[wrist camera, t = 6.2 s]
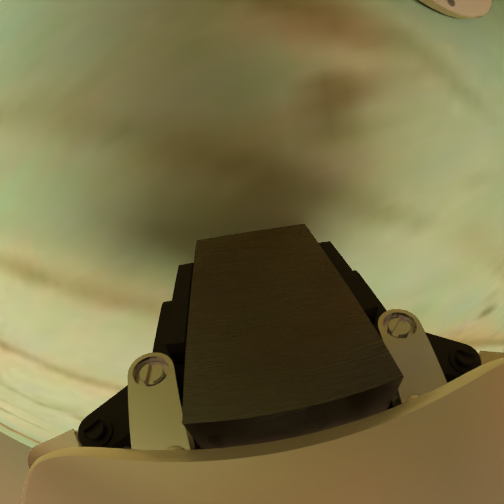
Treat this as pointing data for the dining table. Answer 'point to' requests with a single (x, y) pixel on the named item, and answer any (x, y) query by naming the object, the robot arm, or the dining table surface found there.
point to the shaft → (277, 343)
